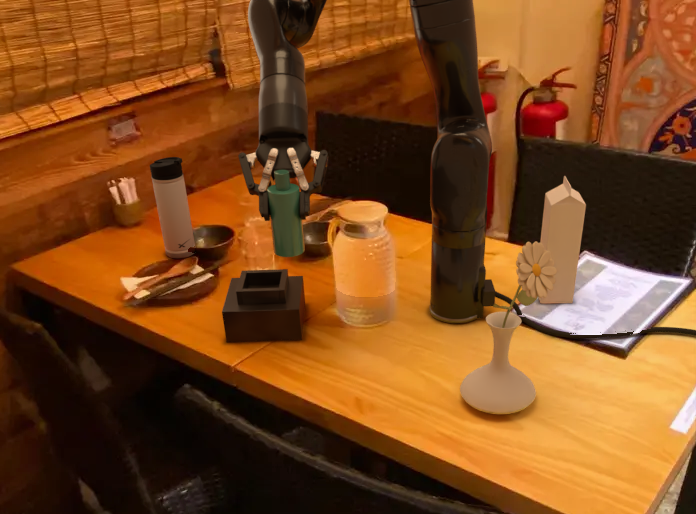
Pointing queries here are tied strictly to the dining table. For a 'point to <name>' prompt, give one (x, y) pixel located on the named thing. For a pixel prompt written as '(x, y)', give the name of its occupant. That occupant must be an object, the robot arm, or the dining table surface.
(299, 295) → the condiment stand
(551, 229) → the milk
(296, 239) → the sauce bottle
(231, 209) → the dining table surface
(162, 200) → the travel mug
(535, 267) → the flower in vase
